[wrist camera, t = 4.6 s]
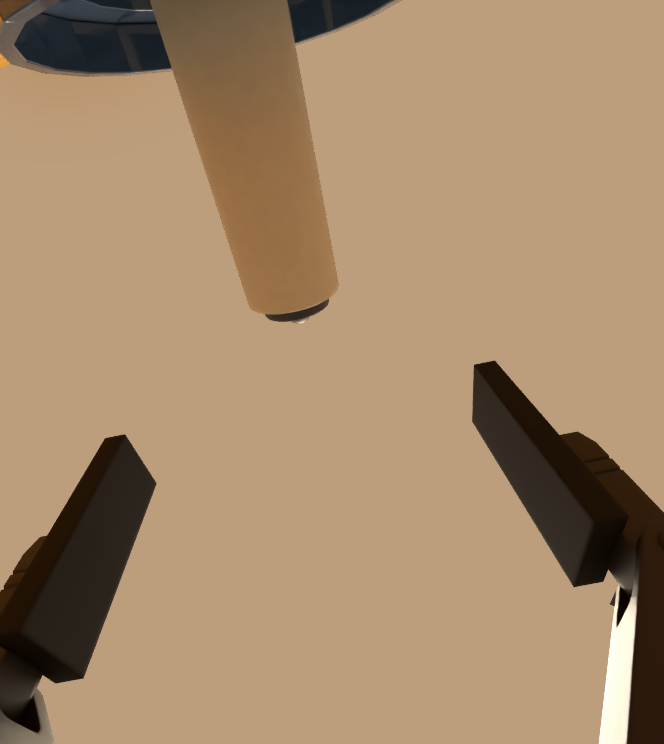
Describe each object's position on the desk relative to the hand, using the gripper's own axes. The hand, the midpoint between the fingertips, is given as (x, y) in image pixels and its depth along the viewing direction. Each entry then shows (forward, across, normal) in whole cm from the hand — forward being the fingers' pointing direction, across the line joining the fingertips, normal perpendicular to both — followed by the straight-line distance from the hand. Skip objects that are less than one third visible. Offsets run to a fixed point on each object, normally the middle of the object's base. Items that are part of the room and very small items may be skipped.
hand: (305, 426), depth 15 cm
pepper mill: (+10, 0, +17) cm, 20 cm away
